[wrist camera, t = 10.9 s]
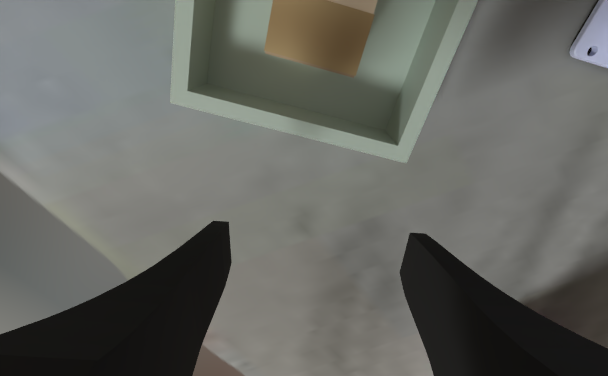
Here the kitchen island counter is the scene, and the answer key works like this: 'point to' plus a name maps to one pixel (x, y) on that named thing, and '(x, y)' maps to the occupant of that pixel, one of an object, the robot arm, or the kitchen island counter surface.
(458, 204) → the kitchen island counter surface
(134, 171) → the kitchen island counter surface
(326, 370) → the kitchen island counter surface
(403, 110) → the bin
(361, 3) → the tan long block
